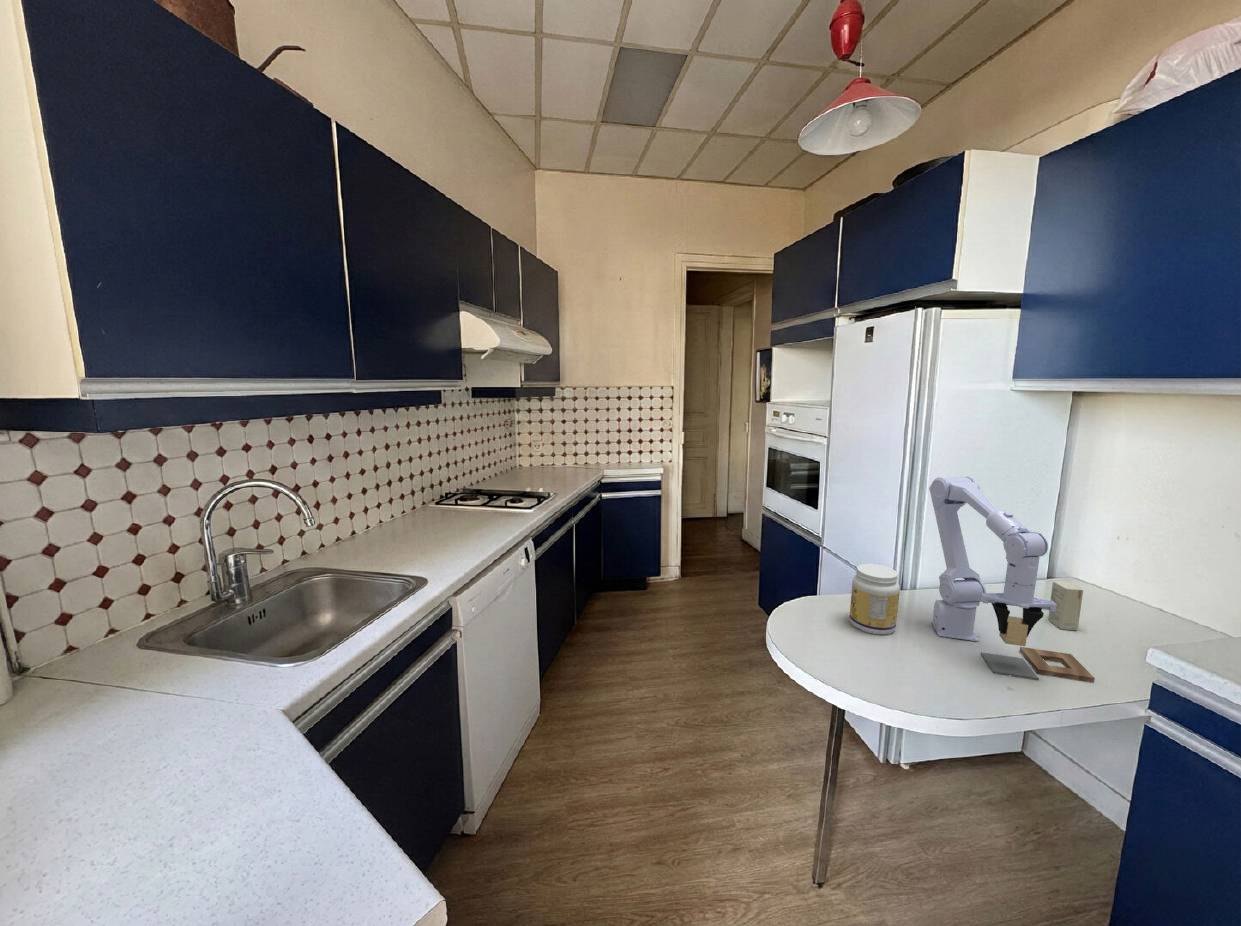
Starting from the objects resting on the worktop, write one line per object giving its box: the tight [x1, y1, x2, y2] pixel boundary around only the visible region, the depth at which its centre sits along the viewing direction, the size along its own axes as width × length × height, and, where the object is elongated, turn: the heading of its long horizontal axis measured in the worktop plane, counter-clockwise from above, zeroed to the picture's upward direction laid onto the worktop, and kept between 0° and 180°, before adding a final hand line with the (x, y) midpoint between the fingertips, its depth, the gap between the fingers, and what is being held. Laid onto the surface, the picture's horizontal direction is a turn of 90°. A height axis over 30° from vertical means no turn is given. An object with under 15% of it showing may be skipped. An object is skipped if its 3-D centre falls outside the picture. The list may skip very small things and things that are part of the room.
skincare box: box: [1047, 580, 1084, 631], centre depth 143 cm, size 6×4×12 cm
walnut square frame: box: [1019, 646, 1096, 683], centre depth 124 cm, size 11×11×1 cm
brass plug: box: [999, 615, 1028, 647], centre depth 122 cm, size 4×4×6 cm
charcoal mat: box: [980, 651, 1039, 681], centre depth 123 cm, size 9×9×1 cm
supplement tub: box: [849, 563, 901, 635], centre depth 143 cm, size 12×12×17 cm
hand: (1012, 633), depth 122 cm, fingers closed on brass plug, 4 cm apart
